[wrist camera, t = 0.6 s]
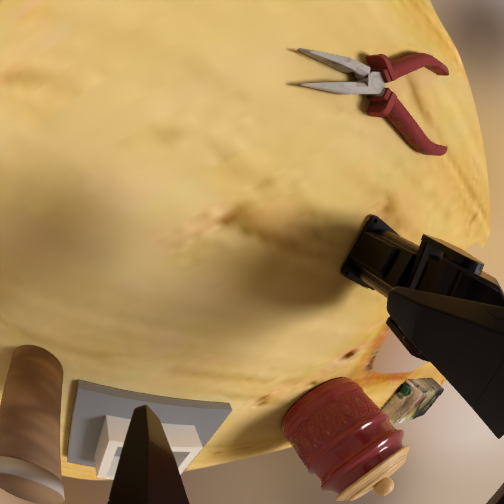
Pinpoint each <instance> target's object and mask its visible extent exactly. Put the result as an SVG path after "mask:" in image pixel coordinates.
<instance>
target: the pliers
mask: <svg viewBox="0 0 504 504" xmlns="http://www.w3.org/2000/svg"><path fill="white" fill-rule="evenodd" d="M298 51H300V52H302V53H304V54H306V55H308V56H310V57H312V58H314V59H316V60H318V61H320V62H322V63H324V64H326V65H328V66H330V67H332V68H334V69H336V70H339V71H341V72H343V73H347V72H354V74H355V79H356V82H321V83H302V84H298V85H299V86H304V87H309V88H314V89H319V90H324V91H328V92H332V93H336V94H340V95H342V94H365V95H367V96H368V99H369V100H370V101H371V103H370V105H369V107H368V109H367V111H366V112H367V113H368V114H369V115H370V116H373V117H385V116H386V117H387V118H388V120H389V121H390V122H391V123H392V124H393V125H394V126H395V128H396V129H397V130H398V131H399V132H400V134H401V135H402V136H403V137H404V138H405V140H406V141H407V142H408V143H409V144H410V145H411V146H412V147H413V148H414V149H415V150H417V151H418V152H420V153H422V154H425V155H437V156H441V155H444V154H445V153H446V152H447V147H446V146H442V145H437V144H434V143H432V142H431V141H430V140H429V139H428V138H427V137H426V135H425V134H424V132H423V131H422V130H421V128H420V127H419V125H418V124H417V123H416V121H415V120H414V119H413V117H412V116H411V115H410V113H409V112H408V111H407V110H406V108H405V107H404V106H403V105H402V103H401V102H400V101H399V100H398V98H397V96H396V95H395V94H394V92H392V91H391V90H390V89H389V88H384V86H385V84H384V83H388V82H390V81H394V80H396V79H397V78H399V77H401V76H403V75H406V74H408V73H410V72H412V71H415V70H417V69H419V68H422V67H426V68H427V69H429V70H431V71H432V72H434V73H436V74H437V75H449V71H448V68H447V67H446V66H445V65H444V64H443V63H441V62H440V61H438V60H437V59H436V58H434V57H433V56H431V55H429V54H425V53H414V54H410V55H407V56H404V57H401V58H398V59H396V60H393V61H390V60H389V59H388V57H387V56H385V55H383V54H378V55H371V56H368V57H366V59H367V62H368V64H369V66H370V67H368V66H367V65H365V64H363V63H360V62H358V61H356V60H354V59H351V58H348V57H343V56H339V55H334V54H329V53H324V52H319V51H313V50H308V49H301V48H299V49H298Z"/></svg>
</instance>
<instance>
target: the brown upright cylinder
mask: <svg viewBox="0 0 504 504" xmlns="http://www.w3.org/2000/svg"><path fill="white" fill-rule="evenodd" d="M62 382H63V369H62V366H61V364H60V362H59V361H58V360H57V358H56V357H55V356H54V355H52V354H51V353H50V352H48V351H47V350H45V349H43V348H40V347H37V346H33V345H24V346H21V347H19V348H17V349H16V350H15V352H14V354H13V357H12V360H11V364H10V367H9V371H8V375H7V379H6V383H5V387H4V391H3V395H2V400H1V405H0V488H2V489H3V490H5V491H6V492H8V493H10V494H12V495H14V496H17V497H19V498H22V499H24V500H27V501H31V502H35V503H40V504H61V503H63V501H64V490H63V482H62V475H61V458H60V413H61V394H62Z"/></svg>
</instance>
